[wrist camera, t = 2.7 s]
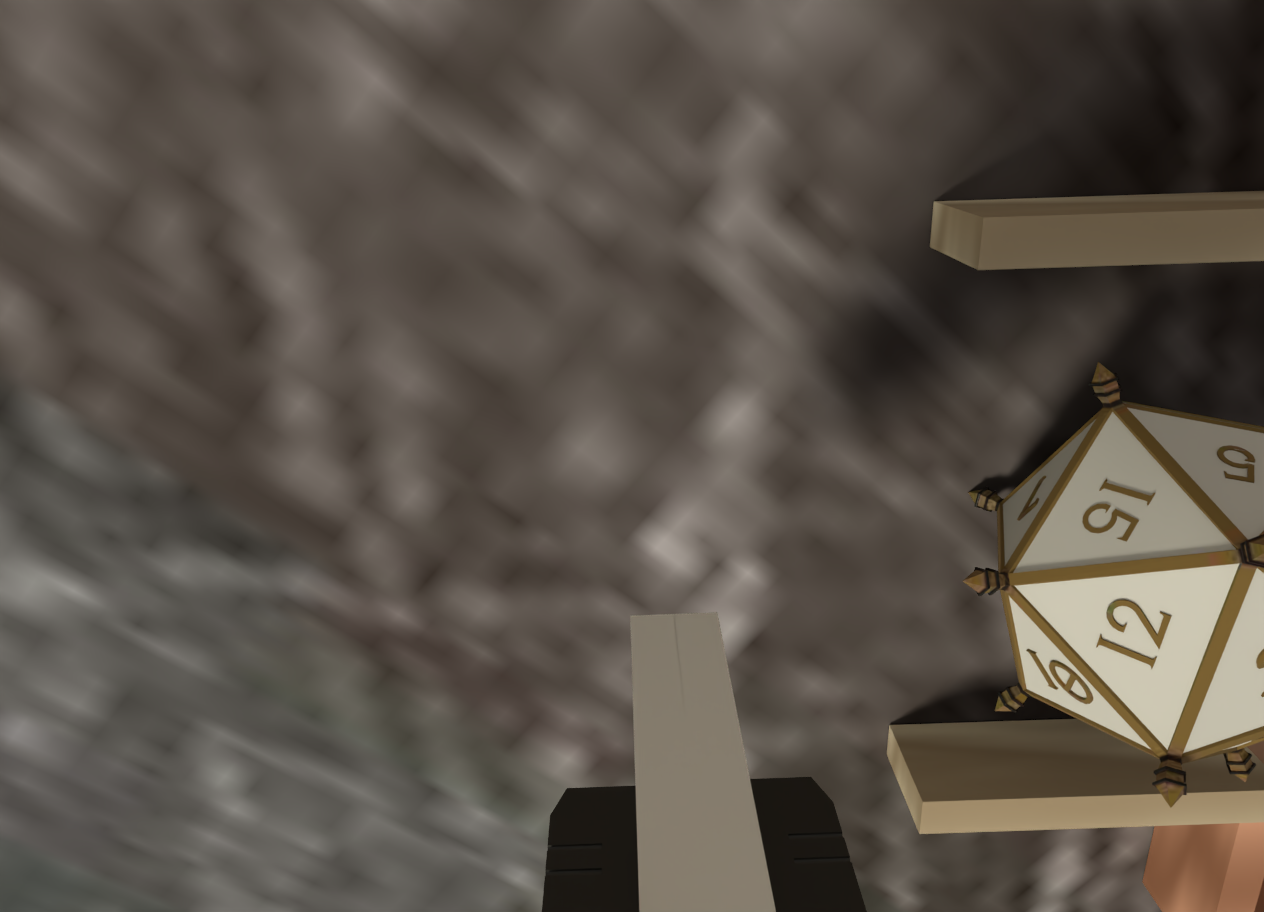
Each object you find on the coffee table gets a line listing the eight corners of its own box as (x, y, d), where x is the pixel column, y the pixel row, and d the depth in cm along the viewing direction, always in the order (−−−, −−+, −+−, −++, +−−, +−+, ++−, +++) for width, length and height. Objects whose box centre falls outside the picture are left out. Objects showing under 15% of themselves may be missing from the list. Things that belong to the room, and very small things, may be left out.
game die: (1095, 430, 27) (1558, 585, 19) (939, 684, 26) (1357, 939, 19) (1005, 246, 20) (1639, 374, 13) (796, 574, 20) (1342, 896, 13)
